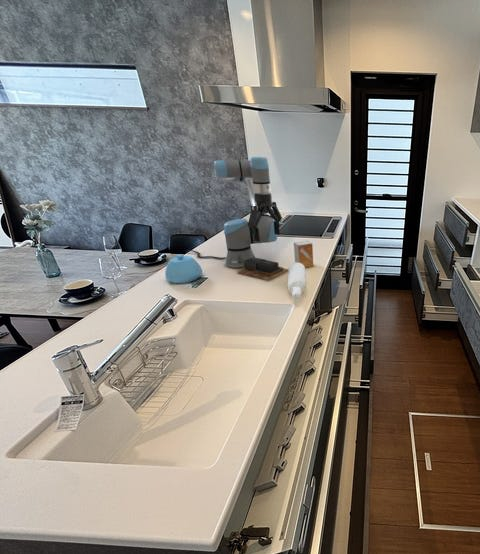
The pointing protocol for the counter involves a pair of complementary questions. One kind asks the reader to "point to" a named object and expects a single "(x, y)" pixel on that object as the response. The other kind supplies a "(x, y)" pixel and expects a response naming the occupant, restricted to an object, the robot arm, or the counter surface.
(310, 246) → the small box
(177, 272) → the sugar bowl
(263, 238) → the robot arm
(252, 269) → the board
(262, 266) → the black rectangular block
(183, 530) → the counter surface
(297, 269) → the bottle
